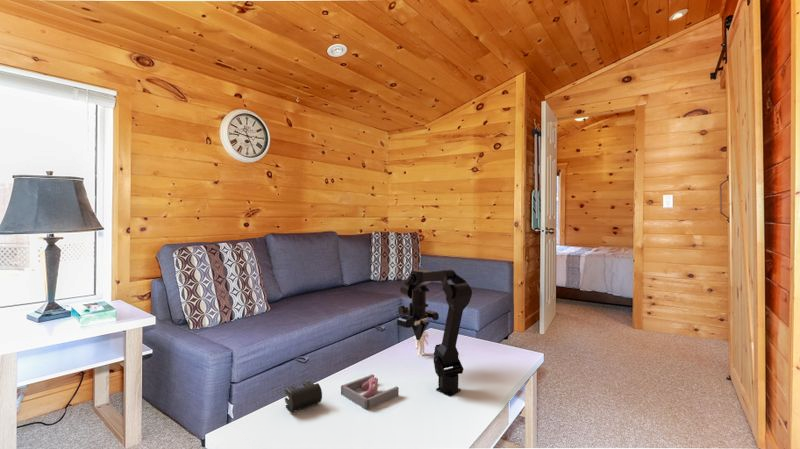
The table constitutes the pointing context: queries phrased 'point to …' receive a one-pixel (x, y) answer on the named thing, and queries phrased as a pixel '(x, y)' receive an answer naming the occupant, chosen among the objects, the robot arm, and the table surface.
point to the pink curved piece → (370, 387)
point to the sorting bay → (365, 403)
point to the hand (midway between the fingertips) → (418, 339)
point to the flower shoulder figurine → (421, 343)
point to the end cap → (303, 396)
